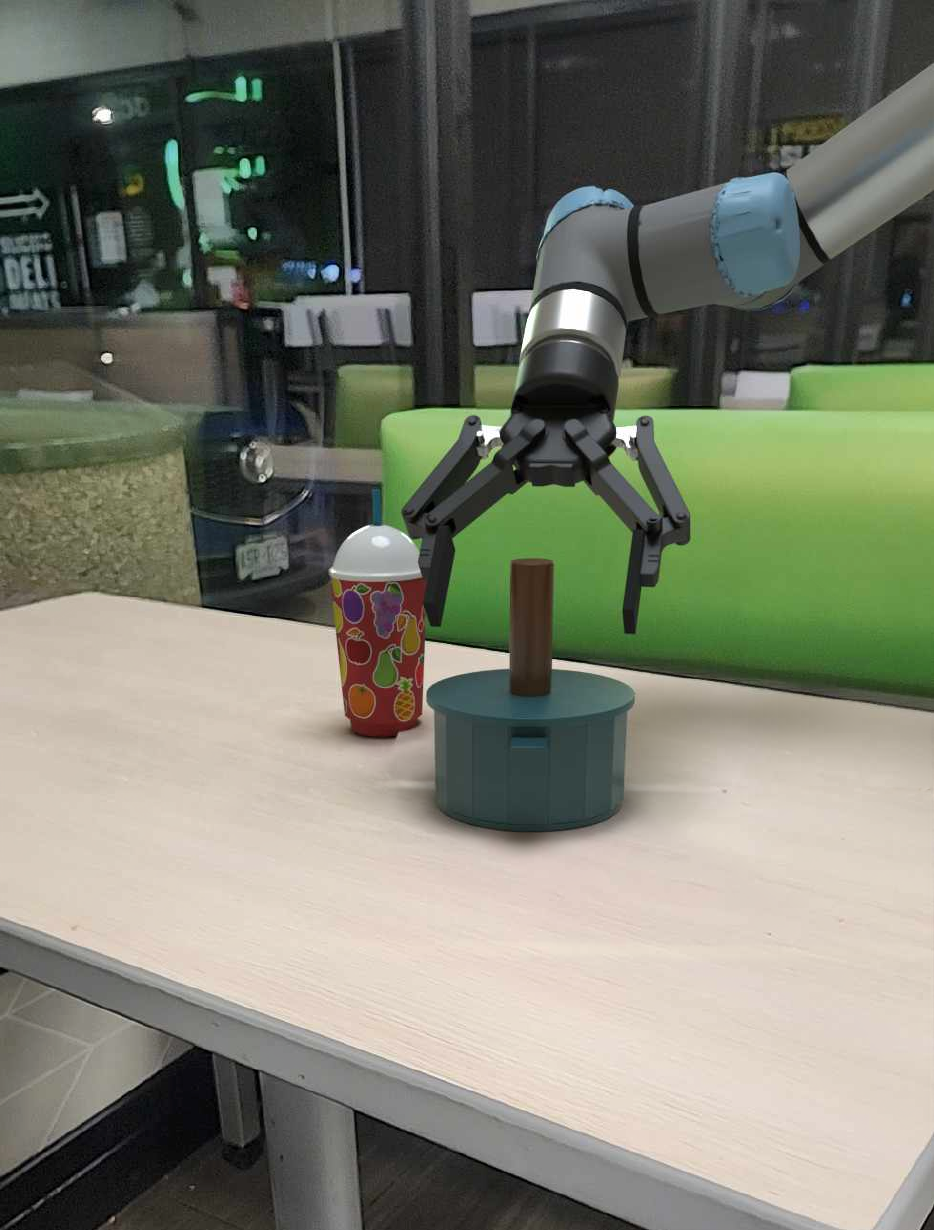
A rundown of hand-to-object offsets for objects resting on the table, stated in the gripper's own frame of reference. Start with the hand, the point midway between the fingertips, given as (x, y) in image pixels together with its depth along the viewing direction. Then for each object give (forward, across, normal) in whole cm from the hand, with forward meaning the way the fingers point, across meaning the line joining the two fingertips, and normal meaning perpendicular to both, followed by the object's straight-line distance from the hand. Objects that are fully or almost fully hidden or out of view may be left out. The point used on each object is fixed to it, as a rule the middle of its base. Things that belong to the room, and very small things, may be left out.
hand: (528, 619), depth 86 cm
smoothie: (-3, +16, -23) cm, 28 cm away
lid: (+3, 0, -6) cm, 6 cm away
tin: (+8, 0, -11) cm, 14 cm away
